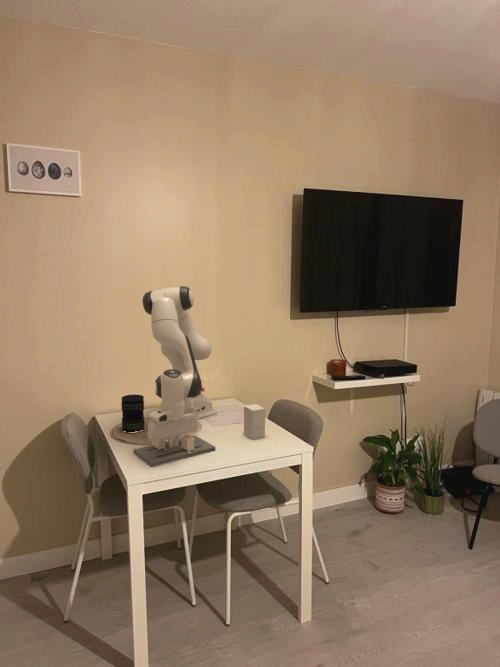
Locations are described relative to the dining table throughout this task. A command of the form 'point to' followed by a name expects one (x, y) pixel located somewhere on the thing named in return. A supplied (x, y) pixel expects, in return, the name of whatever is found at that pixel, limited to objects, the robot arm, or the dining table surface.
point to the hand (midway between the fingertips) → (173, 446)
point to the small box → (254, 421)
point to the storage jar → (132, 413)
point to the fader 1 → (159, 444)
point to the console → (172, 452)
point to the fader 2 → (187, 442)
